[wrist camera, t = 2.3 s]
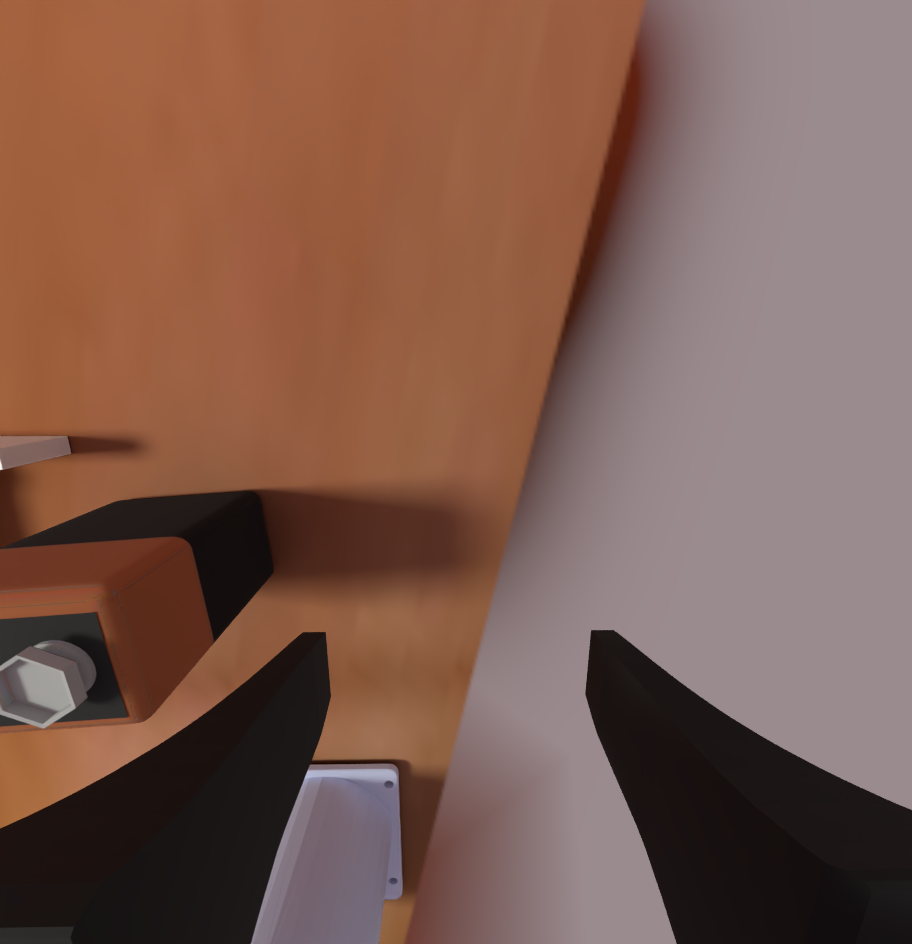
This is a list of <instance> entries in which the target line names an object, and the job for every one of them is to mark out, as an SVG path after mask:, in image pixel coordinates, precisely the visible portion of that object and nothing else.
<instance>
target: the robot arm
mask: <svg viewBox="0 0 912 944" xmlns="http://www.w3.org/2000/svg"><path fill="white" fill-rule="evenodd" d="M330 698H331V692H330V680H329V668H328V656H327V643H326V632H303V633H302V634H300V635H299V636H298V637H297V638H296V639H295V640H293V641H292V642H291V643H290V644H289V645H288V646H287V647H285V648H284V649H283V650H282V651H281V652H280V653H279V654H278V655H276V656H275V657H274V658H273V659H272V660H271V661H270V662H268V663H267V664H266V665H265V666H264V667H263V668H261V669H260V670H259V671H258V672H257V673H256V674H254V675H253V676H252V677H251V678H250V679H249V680H247V681H246V682H245V683H244V684H242V685H241V686H240V687H239V688H237V689H236V690H235V691H234V692H232V693H231V694H230V695H228V696H227V697H226V698H225V699H223V700H222V701H221V702H220V703H218V704H217V705H216V706H214V707H213V708H212V709H211V710H209V711H208V712H206V713H205V714H204V715H202V716H201V717H200V718H198V719H197V720H195V721H194V722H193V723H191V724H190V725H188V726H187V727H185V728H184V729H182V730H181V731H179V732H178V733H176V734H175V735H173V736H172V737H170V738H169V739H167V740H166V741H164V742H163V743H161V744H160V745H158V746H156V747H155V748H153V749H151V750H150V751H148V752H146V753H145V754H143V755H141V756H139V757H138V758H136V759H134V760H133V761H131V762H129V763H128V764H126V765H124V766H123V767H121V768H119V769H118V770H116V771H114V772H113V773H111V774H109V775H107V776H105V777H104V778H102V779H100V780H98V781H96V782H94V783H92V784H91V785H89V786H87V787H85V788H83V789H81V790H79V791H77V792H76V793H74V794H72V795H70V796H68V797H66V798H64V799H62V800H60V801H58V802H56V803H54V804H52V805H50V806H48V807H46V808H44V809H42V810H40V811H38V812H36V813H33V814H31V815H29V816H27V817H25V818H23V819H21V820H18V821H16V822H14V823H12V824H10V825H7V826H5V827H3V828H1V829H0V944H379V939H380V931H381V922H382V914H383V906H384V900H392V899H398V898H399V897H400V896H401V895H402V890H403V879H402V852H401V825H400V798H399V771H398V768H397V767H396V766H395V765H393V764H323V765H310V763H311V761H312V758H313V755H314V753H315V750H316V747H317V745H318V742H319V739H320V737H321V733H322V729H323V726H324V722H325V718H326V714H327V710H328V706H329V702H330ZM586 698H587V701H588V705H589V708H590V712H591V715H592V719H593V722H594V725H595V728H596V731H597V734H598V736H599V739H600V741H601V744H602V746H603V749H604V751H605V753H606V756H607V758H608V760H609V763H610V765H611V767H612V770H613V772H614V774H615V777H616V779H617V781H618V783H619V786H620V788H621V790H622V793H623V795H624V797H625V800H626V802H627V804H628V807H629V809H630V811H631V814H632V816H633V818H634V821H635V823H636V825H637V828H638V830H639V833H640V835H641V838H642V841H643V843H644V846H645V848H646V851H647V854H648V857H649V860H650V863H651V866H652V869H653V872H654V875H655V878H656V881H657V884H658V887H659V890H660V893H661V896H662V899H663V902H664V905H665V908H666V911H667V915H668V918H669V921H670V924H671V927H672V930H673V934H674V936H675V939H676V943H677V944H912V810H910V809H908V808H905V807H903V806H900V805H898V804H896V803H893V802H891V801H889V800H886V799H884V798H882V797H880V796H877V795H875V794H873V793H871V792H869V791H867V790H865V789H862V788H860V787H858V786H856V785H854V784H852V783H849V782H847V781H845V780H843V779H841V778H839V777H837V776H835V775H833V774H831V773H829V772H827V771H825V770H823V769H820V768H819V767H817V766H815V765H813V764H811V763H809V762H807V761H805V760H804V759H802V758H800V757H798V756H796V755H794V754H792V753H790V752H788V751H787V750H784V749H783V748H781V747H779V746H777V745H775V744H774V743H772V742H770V741H769V740H767V739H765V738H763V737H762V736H760V735H758V734H757V733H755V732H753V731H752V730H750V729H749V728H747V727H745V726H744V725H742V724H740V723H739V722H737V721H736V720H734V719H732V718H730V717H729V716H728V715H726V714H724V713H723V712H722V711H720V710H719V709H717V708H716V707H714V706H713V705H711V704H710V703H708V702H707V701H706V700H704V699H703V698H701V697H700V696H698V695H697V694H696V693H694V692H693V691H691V690H690V689H689V688H687V687H686V686H685V685H683V684H682V683H680V682H679V681H678V680H677V679H675V678H674V677H673V676H671V675H670V674H669V673H667V672H666V671H665V670H664V669H662V668H661V667H660V666H658V665H657V664H656V663H654V662H653V661H652V660H651V659H650V658H648V657H647V656H646V655H644V654H643V653H642V652H641V651H639V650H638V649H637V648H636V647H635V646H633V645H632V644H631V643H630V642H628V641H627V640H626V639H624V638H623V637H622V636H621V635H619V634H618V633H617V632H615V631H614V630H592V631H591V638H590V650H589V660H588V672H587V682H586ZM389 781H390V782H389Z"/></svg>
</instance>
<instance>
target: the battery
mask: <svg viewBox="0 0 912 944" xmlns="http://www.w3.org/2000/svg"><path fill="white" fill-rule="evenodd" d="M272 573H273V564H272V559H271V554H270V549H269V543H268V538H267V533H266V528H265V522H264V517H263V512H262V507H261V502H260V498H259V496H258V495H257V494H256V493H254V492H250V491H243V492H228V493H214V494H201V495H187V496H173V497H160V498H146V499H132V500H121V501H116V502H113V503H111V504H108V505H106V506H103V507H101V508H98V509H96V510H93V511H91V512H88V513H86V514H83V515H81V516H79V517H76V518H74V519H71V520H69V521H66V522H64V523H61V524H59V525H56V526H54V527H52V528H49V529H47V530H44V531H42V532H39V533H37V534H34V535H32V536H29V537H27V538H25V539H22V540H20V541H17V542H15V543H12V544H10V545H7V546H5V547H2V548H0V733H14V732H27V731H41V730H55V729H69V728H83V727H96V726H110V725H123V724H134V723H140V722H143V721H145V720H147V719H149V718H150V717H151V716H152V715H153V714H154V713H155V712H156V711H157V709H158V708H159V707H160V706H161V705H162V704H163V702H164V701H165V700H166V699H167V698H168V696H169V695H170V694H171V693H172V692H173V691H174V689H175V688H176V687H177V686H178V685H179V684H180V682H181V681H182V680H183V679H184V678H185V676H186V675H187V674H188V673H189V672H190V671H191V669H192V668H193V667H194V666H195V665H196V663H197V662H198V661H199V660H200V659H201V658H202V656H203V655H204V654H205V653H206V652H207V650H208V649H209V648H210V647H211V646H212V645H213V643H214V642H215V641H216V640H217V639H218V638H219V636H220V635H221V634H222V633H223V632H224V630H225V629H226V628H227V627H228V626H229V625H230V623H231V622H232V621H233V620H234V619H235V617H236V616H237V615H238V614H239V613H240V612H241V610H242V609H243V608H244V607H245V606H246V604H247V603H248V602H249V601H250V600H251V599H252V597H253V596H254V595H255V594H256V593H257V592H258V590H259V589H260V588H261V587H262V586H263V584H264V583H265V582H266V581H267V580H268V578H269V577H270V576H271V575H272Z"/></svg>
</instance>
